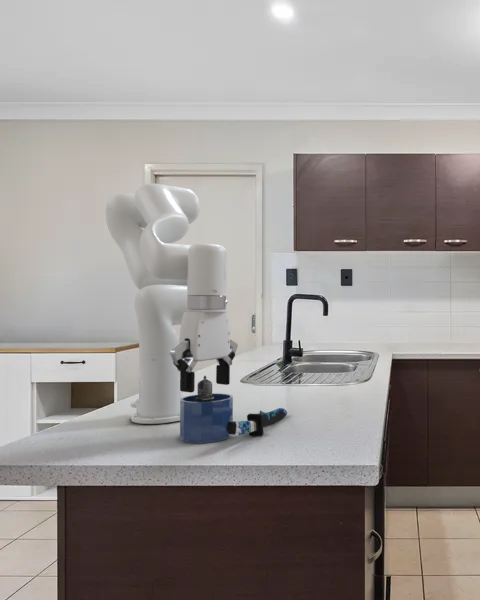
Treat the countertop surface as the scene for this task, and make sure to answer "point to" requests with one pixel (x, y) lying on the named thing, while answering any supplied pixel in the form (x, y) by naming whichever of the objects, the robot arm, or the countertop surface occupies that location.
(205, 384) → the salt shaker
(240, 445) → the countertop surface
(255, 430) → the knife
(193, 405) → the blue cup
